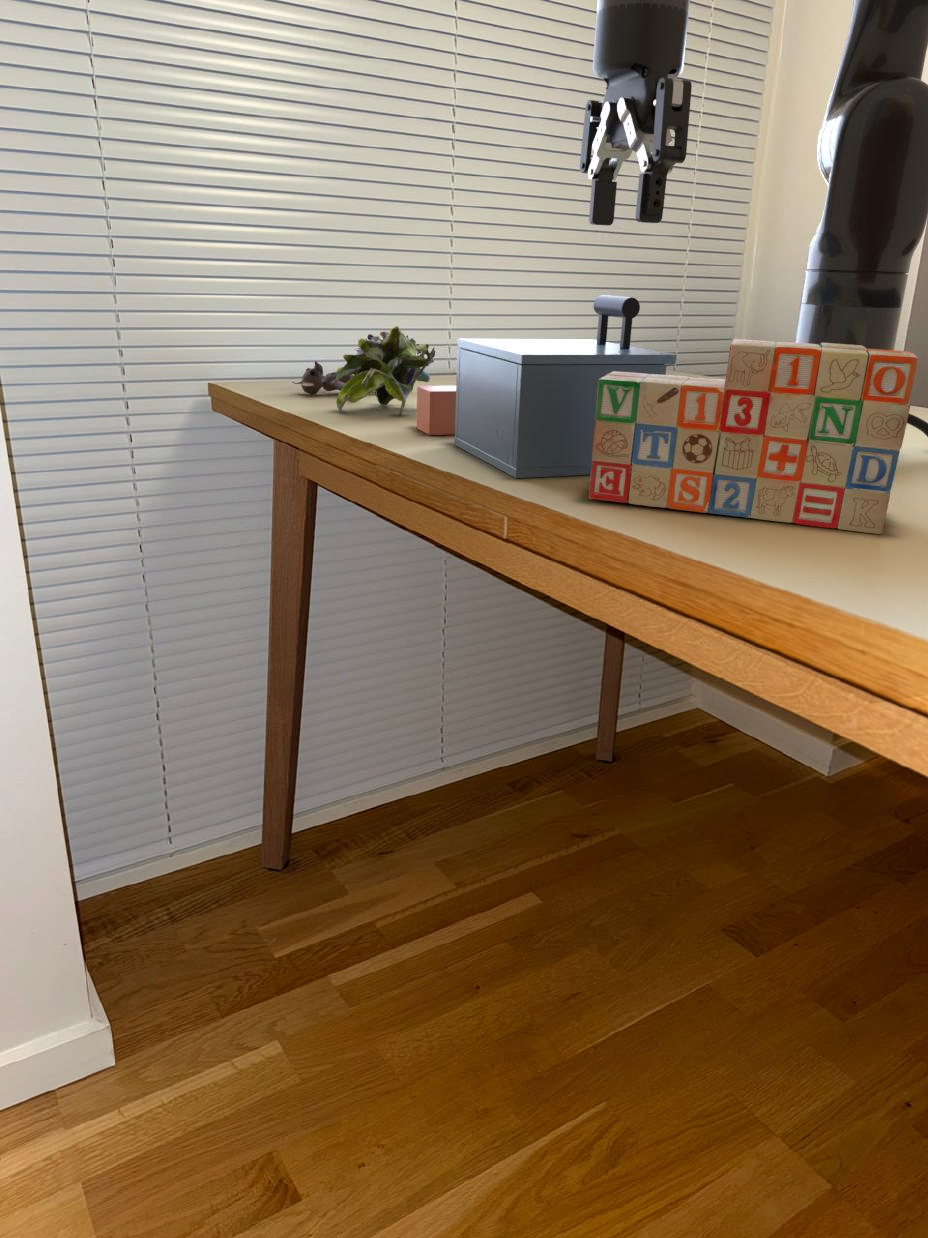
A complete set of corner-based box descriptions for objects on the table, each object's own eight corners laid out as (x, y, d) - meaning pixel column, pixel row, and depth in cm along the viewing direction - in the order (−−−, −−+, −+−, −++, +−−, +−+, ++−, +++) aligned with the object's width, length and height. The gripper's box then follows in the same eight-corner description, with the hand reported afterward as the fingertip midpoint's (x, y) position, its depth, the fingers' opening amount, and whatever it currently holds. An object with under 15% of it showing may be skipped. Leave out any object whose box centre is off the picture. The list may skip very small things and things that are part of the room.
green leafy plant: (382, 449, 117) (426, 367, 118) (420, 448, 108) (467, 359, 109) (308, 399, 112) (354, 314, 113) (341, 394, 102) (391, 301, 103)
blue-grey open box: (577, 440, 97) (584, 348, 94) (655, 471, 83) (666, 364, 80) (454, 444, 92) (457, 347, 89) (515, 478, 79) (521, 365, 76)
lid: (592, 347, 94) (596, 292, 92) (675, 364, 80) (683, 300, 78) (457, 347, 89) (458, 289, 87) (521, 364, 76) (525, 296, 74)
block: (455, 427, 102) (456, 385, 101) (469, 434, 98) (471, 390, 97) (416, 428, 101) (416, 385, 99) (429, 435, 97) (430, 391, 95)
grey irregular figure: (427, 376, 120) (321, 366, 113) (424, 409, 121) (318, 402, 114) (373, 361, 135) (276, 352, 128) (371, 391, 136) (274, 384, 129)
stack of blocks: (586, 501, 72) (599, 335, 67) (601, 485, 77) (615, 330, 73) (884, 534, 66) (921, 353, 61) (878, 514, 71) (911, 347, 67)
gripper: (732, -4, 72) (705, 224, 77) (638, 33, 84) (621, 227, 90) (647, -18, 69) (625, 219, 75) (564, 23, 82) (550, 223, 87)
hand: (623, 223), depth 82 cm, fingers open, 8 cm apart
